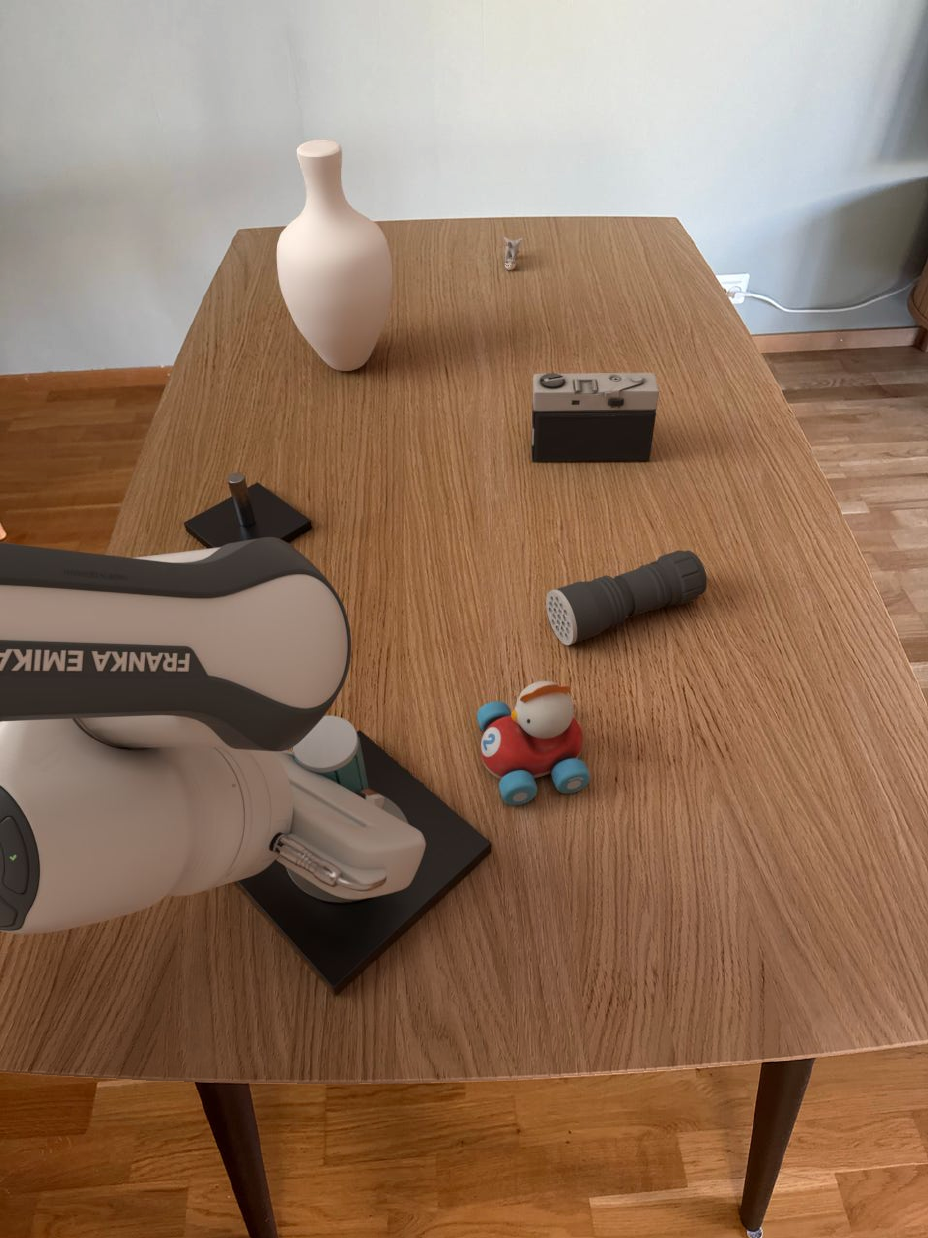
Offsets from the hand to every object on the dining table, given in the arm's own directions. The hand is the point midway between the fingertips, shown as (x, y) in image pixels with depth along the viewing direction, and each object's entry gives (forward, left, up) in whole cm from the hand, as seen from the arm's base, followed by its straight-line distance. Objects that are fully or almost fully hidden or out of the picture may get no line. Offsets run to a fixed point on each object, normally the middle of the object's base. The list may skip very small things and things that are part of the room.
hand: (340, 783), depth 66 cm
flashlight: (+35, +1, -10) cm, 37 cm away
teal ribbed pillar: (-1, 0, -6) cm, 6 cm away
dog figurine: (+84, +62, -10) cm, 105 cm away
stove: (-1, 0, -9) cm, 9 cm away
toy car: (+16, -4, -10) cm, 19 cm away
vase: (+47, +58, -10) cm, 76 cm away
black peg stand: (+17, +39, -9) cm, 44 cm away
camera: (+55, +22, -10) cm, 60 cm away
